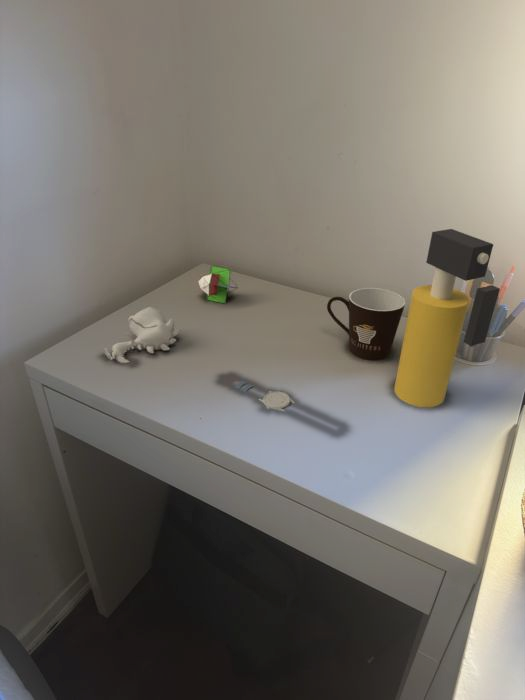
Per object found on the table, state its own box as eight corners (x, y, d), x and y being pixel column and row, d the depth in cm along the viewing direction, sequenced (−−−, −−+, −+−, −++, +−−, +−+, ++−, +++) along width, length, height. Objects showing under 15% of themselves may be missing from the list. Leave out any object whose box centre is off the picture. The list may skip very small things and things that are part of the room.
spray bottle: (419, 379, 76) (453, 223, 64) (462, 410, 70) (509, 243, 57) (383, 390, 73) (411, 230, 61) (424, 423, 67) (465, 251, 55)
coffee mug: (406, 358, 81) (417, 302, 76) (368, 373, 77) (377, 316, 72) (356, 329, 90) (363, 278, 84) (320, 342, 85) (324, 288, 80)
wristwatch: (231, 374, 76) (231, 369, 75) (348, 426, 66) (349, 420, 65) (213, 387, 73) (213, 381, 72) (332, 443, 63) (333, 437, 62)
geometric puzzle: (215, 277, 104) (202, 255, 97) (245, 283, 101) (234, 260, 94) (202, 307, 101) (189, 286, 94) (233, 313, 99) (221, 292, 92)
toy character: (96, 348, 81) (158, 315, 87) (124, 385, 78) (187, 349, 84) (91, 327, 76) (157, 293, 82) (121, 366, 74) (188, 328, 79)
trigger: (477, 337, 62) (491, 284, 58) (485, 342, 61) (500, 288, 57) (463, 342, 61) (477, 288, 57) (470, 346, 60) (485, 292, 56)
